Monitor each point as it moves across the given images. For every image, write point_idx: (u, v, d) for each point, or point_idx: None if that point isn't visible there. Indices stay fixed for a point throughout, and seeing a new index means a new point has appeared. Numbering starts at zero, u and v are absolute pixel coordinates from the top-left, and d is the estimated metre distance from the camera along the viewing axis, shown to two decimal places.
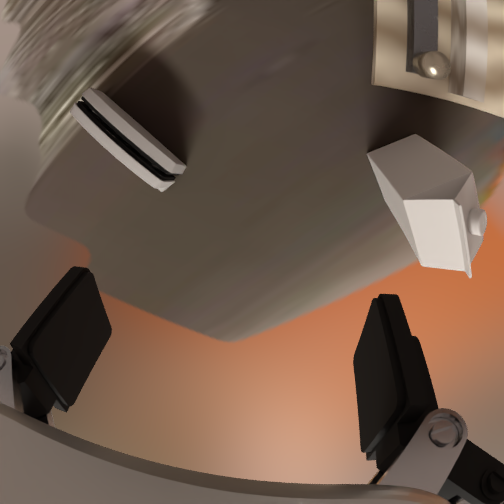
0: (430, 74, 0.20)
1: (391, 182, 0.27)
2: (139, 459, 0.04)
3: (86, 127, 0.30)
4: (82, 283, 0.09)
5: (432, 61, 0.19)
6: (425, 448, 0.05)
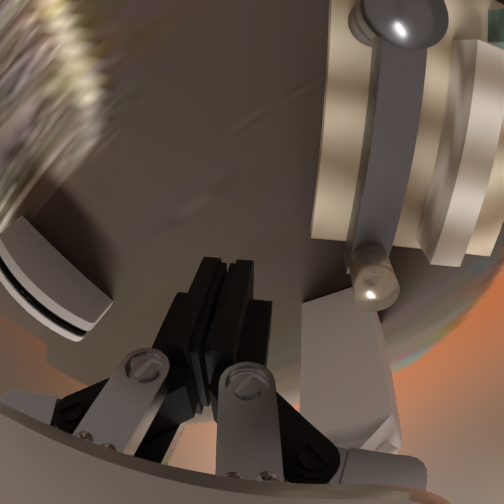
0: (361, 306, 0.17)
1: (301, 390, 0.24)
2: (139, 459, 0.04)
3: (4, 284, 0.26)
4: (222, 274, 0.10)
5: (368, 290, 0.16)
6: (237, 408, 0.06)
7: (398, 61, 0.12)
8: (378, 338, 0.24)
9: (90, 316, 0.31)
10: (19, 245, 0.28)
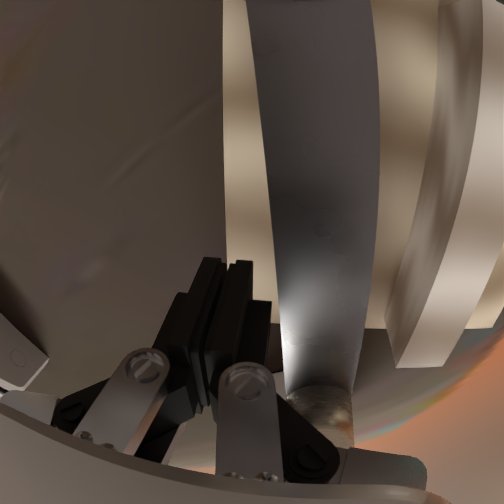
0: None
1: None
2: (139, 459, 0.04)
3: None
4: (222, 274, 0.10)
5: None
6: (237, 408, 0.06)
7: (298, 32, 0.05)
8: None
9: (19, 379, 0.24)
10: None
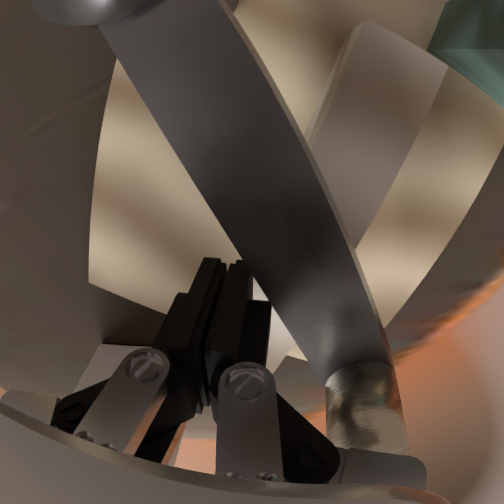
0: None
1: None
2: (139, 459, 0.04)
3: None
4: (222, 274, 0.10)
5: None
6: (237, 408, 0.06)
7: (153, 38, 0.05)
8: None
9: None
10: None
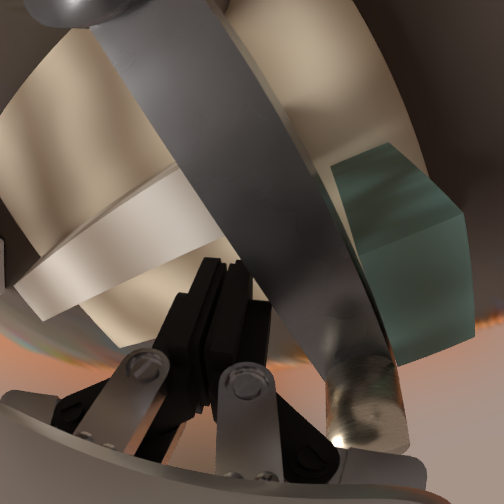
0: None
1: None
2: (139, 459, 0.04)
3: None
4: (222, 274, 0.10)
5: None
6: (237, 408, 0.06)
7: (142, 36, 0.05)
8: None
9: None
10: None
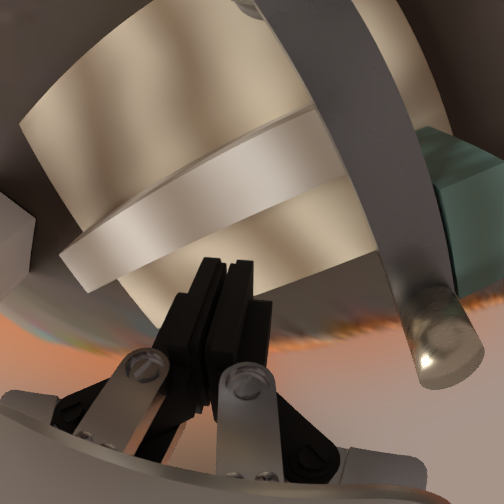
0: (437, 387, 0.09)
1: None
2: (139, 459, 0.04)
3: None
4: (222, 273, 0.10)
5: (437, 369, 0.09)
6: (237, 408, 0.06)
7: (295, 4, 0.07)
8: None
9: None
10: None
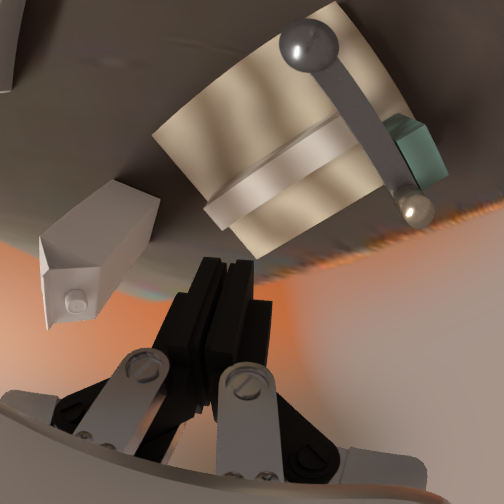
0: (418, 227, 0.23)
1: (63, 216, 0.28)
2: (139, 459, 0.04)
3: None
4: (222, 274, 0.10)
5: (413, 214, 0.22)
6: (237, 408, 0.06)
7: (330, 79, 0.21)
8: (134, 227, 0.31)
9: None
10: (9, 4, 0.20)
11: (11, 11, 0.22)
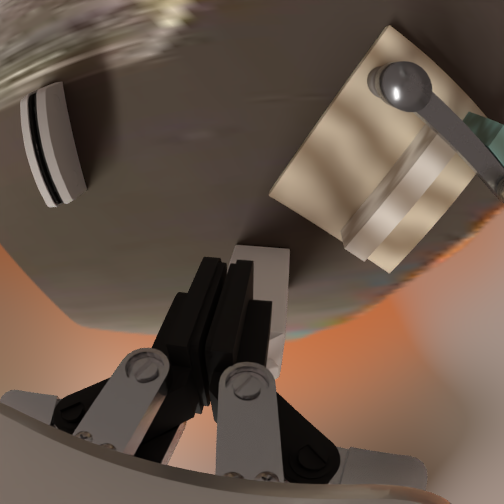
0: None
1: None
2: (139, 459, 0.04)
3: (23, 129, 0.27)
4: (222, 274, 0.10)
5: None
6: (237, 408, 0.06)
7: (430, 111, 0.22)
8: (287, 285, 0.35)
9: (73, 193, 0.35)
10: (53, 106, 0.29)
11: (58, 112, 0.31)
